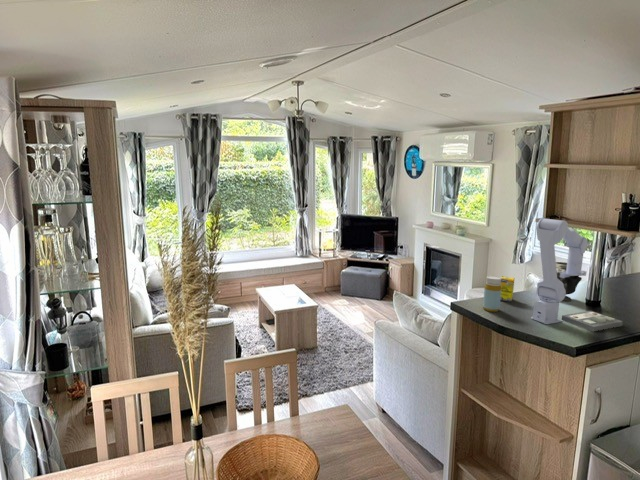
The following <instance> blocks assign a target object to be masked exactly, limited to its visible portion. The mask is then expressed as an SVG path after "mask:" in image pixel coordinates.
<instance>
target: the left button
mask: <svg viewBox="0 0 640 480" xmlns="http://www.w3.org/2000/svg"><path fill="white" fill-rule="evenodd" d="M582 322H584V323H586V324H589V325H593V324H596V322H593V321H591V320H583V321H582Z"/></svg>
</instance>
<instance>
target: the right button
mask: <svg viewBox="0 0 640 480" xmlns="http://www.w3.org/2000/svg"><path fill="white" fill-rule="evenodd" d="M605 316H606V317H604V318H606V320H608V321H615V319H616V318H614V317H610V316H607V315H605Z"/></svg>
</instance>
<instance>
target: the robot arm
mask: <svg viewBox="0 0 640 480" xmlns="http://www.w3.org/2000/svg"><path fill="white" fill-rule="evenodd" d="M568 225H569V223H568V221H566V220H559V219H552V218H551V219H550V218H545V217H541V218H540V219H539V220H538V222H537V225H536V227H535V228H536V230H535V231H536V237H537V240H538V241H539V250H540V259H541V268H542V269H541V271H542V278H540V279H539V280H538V282H537V283H536V296H538V299H539V300H538V301H536V302H535V303H534V305H533V314H532V316H531V317H530V318H531V320H535V321H537V322H540V323H542V324H545V325H550V324H556V323H562V322H563V320H562V319H559V318H558V316H559V310H560V309H559V307H560V303H561V302H563V301H562V300H563V299H564V298H565V296H567V295H566V290H565V288H564V284H563V283H562V282H561V281H560V280H559V279H558V278H557V270H556V262H557V260H556V250H555V245H557V244H560V243H561V242H562V240H563V241H564V242H565V243H566V246H567V248H568V252H567V253H568V254H567V261H566V263H567V269H566V271H565V272H563V273H560V277H561V278H564V279H565V281H566V284H567V289H568V292H570V293H572V294H573V293H575V292H576V290H577V287H578V286H579V283H581V281H582V278H583V276H584V277H586V276H587V271H586V270H582V266H583V260H584V254H585V253H586V248H587V246H588V239H587V237H585V236H582V235H580V234H579V232H577V231H576V229H575V228H569V226H568ZM575 289H576V290H575ZM574 291H575V292H574Z"/></svg>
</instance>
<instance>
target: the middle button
mask: <svg viewBox="0 0 640 480" xmlns="http://www.w3.org/2000/svg"><path fill="white" fill-rule="evenodd" d="M592 320H593V321H596V322H599V323H604V322H606V318H604V317H601V316H592Z"/></svg>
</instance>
